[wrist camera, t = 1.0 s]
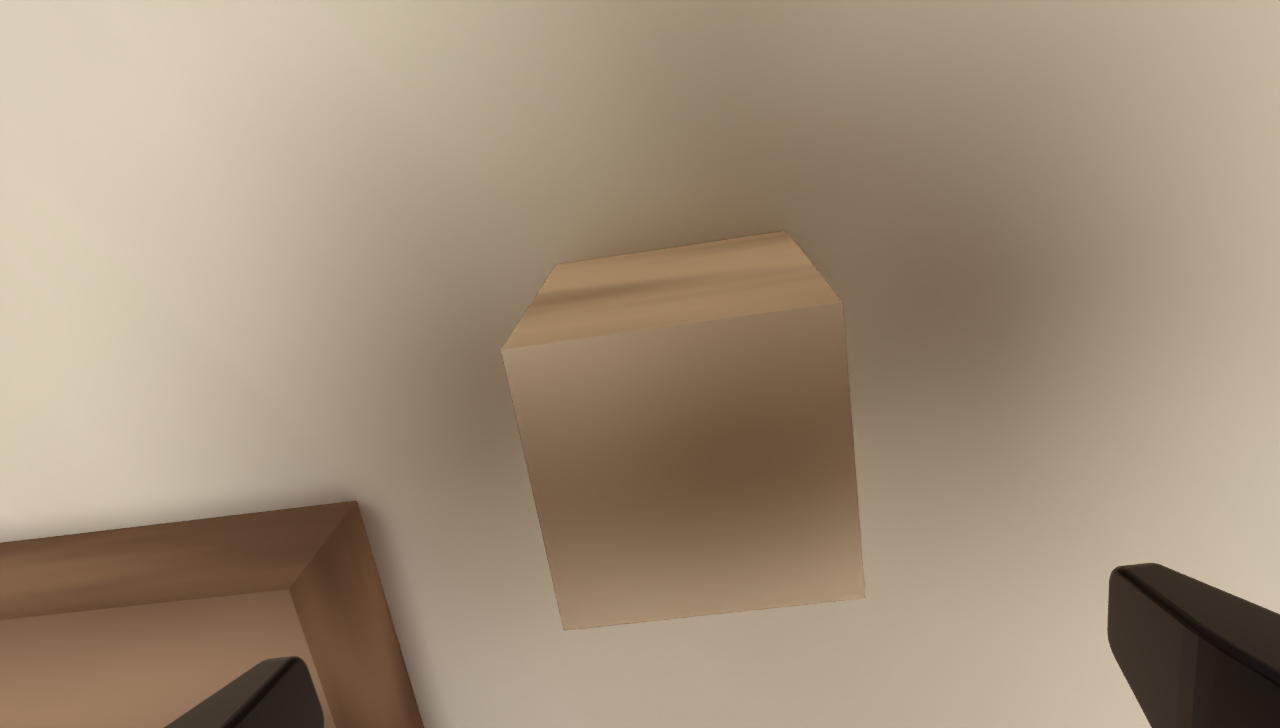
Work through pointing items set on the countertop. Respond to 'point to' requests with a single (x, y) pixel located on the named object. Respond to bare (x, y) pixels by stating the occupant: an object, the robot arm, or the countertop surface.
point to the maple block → (689, 432)
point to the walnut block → (197, 620)
